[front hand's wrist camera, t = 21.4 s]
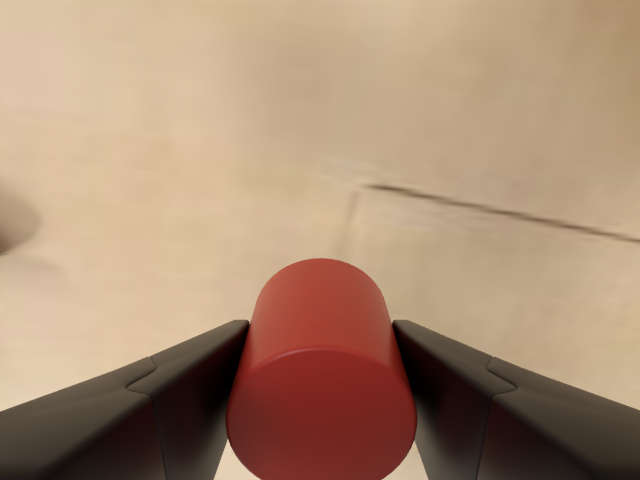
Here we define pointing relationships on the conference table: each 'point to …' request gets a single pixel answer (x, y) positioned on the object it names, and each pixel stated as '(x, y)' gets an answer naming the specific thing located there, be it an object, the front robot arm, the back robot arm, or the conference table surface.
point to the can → (321, 380)
